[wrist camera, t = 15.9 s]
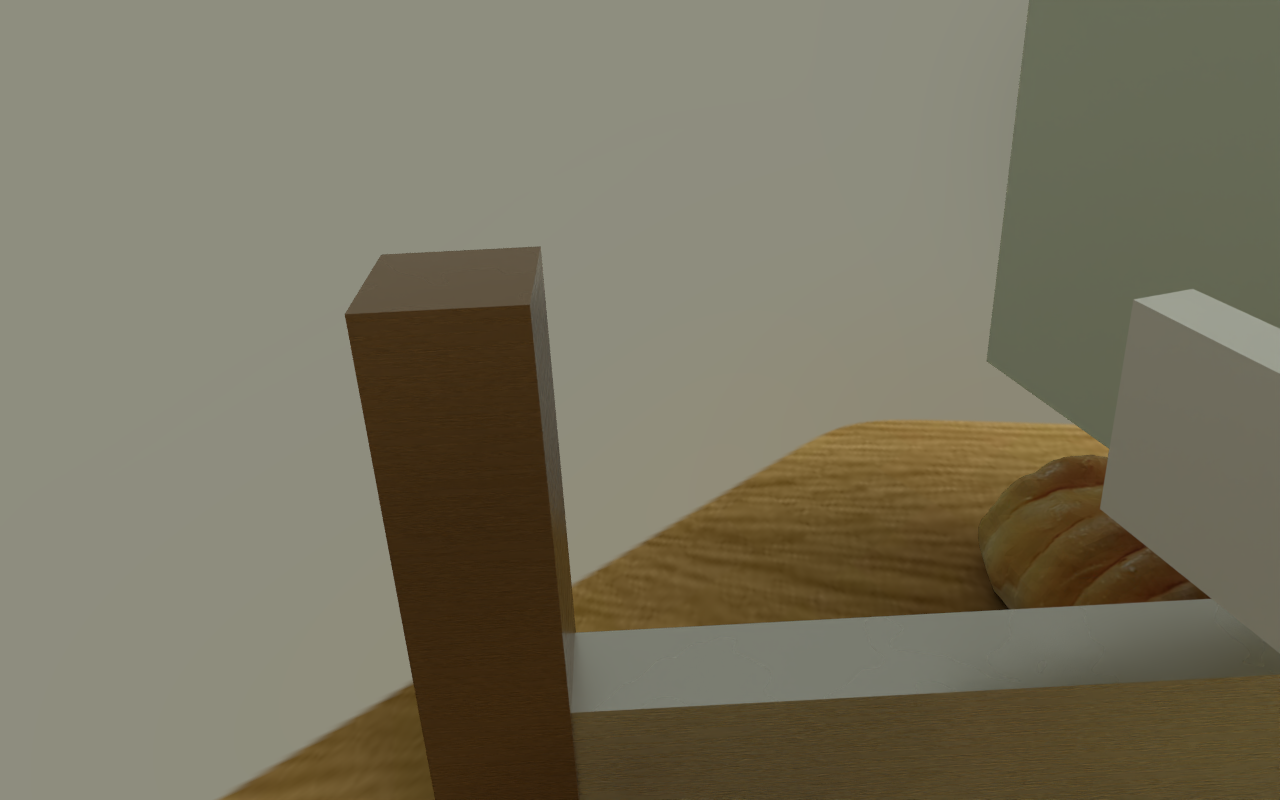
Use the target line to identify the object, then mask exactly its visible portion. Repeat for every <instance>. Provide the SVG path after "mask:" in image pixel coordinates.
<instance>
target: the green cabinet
mask: <svg viewBox="0 0 1280 800" xmlns="http://www.w3.org/2000/svg"><path fill="white" fill-rule="evenodd" d="M1189 289H1194V290H1197V291H1199V292H1201V293H1203V294H1205V295H1207V296H1210V297H1212V298H1214V299H1216V300H1218V301H1221V302H1223V303H1225V304H1227V305H1229V306H1231V307H1234V308H1236V309H1238V310H1240V311H1242V312H1245V313H1247V314H1249V315H1251V316H1253V317H1255V318H1258V319H1260V320H1262V321H1264V322H1266V323H1269V324H1271V325H1273V326H1275V327H1277V328H1279V329H1280V0H1029V7H1028V15H1027V24H1026V33H1025V40H1024V50H1023V58H1022V66H1021V75H1020V83H1019V92H1018V99H1017V109H1016V117H1015V125H1014V134H1013V142H1012V150H1011V159H1010V167H1009V176H1008V184H1007V193H1006V201H1005V209H1004V218H1003V227H1002V235H1001V243H1000V252H999V260H998V269H997V277H996V286H995V294H994V304H993V312H992V319H991V328H990V336H989V345H988V354H987V362H989V363H990V364H991V365H993V366H994V367H996V368H997V369H998V370H1000V371H1001V372H1003V373H1004V374H1006V375H1007V376H1008V377H1010V378H1011V379H1012V380H1014V381H1015V382H1017V383H1018V384H1019V385H1021V386H1022V387H1024V388H1025V389H1026V390H1028V391H1029V392H1031V393H1032V394H1033V395H1035V396H1036V397H1038V398H1039V399H1040V400H1042V401H1043V402H1045V403H1046V404H1047V405H1049V406H1050V407H1052V408H1053V409H1054V410H1056V411H1057V412H1059V413H1060V414H1062V415H1063V416H1064V417H1066V418H1067V419H1068V420H1070V421H1071V422H1073V423H1074V424H1075V425H1077V426H1078V427H1080V428H1081V429H1082V430H1084V431H1085V432H1087V433H1088V434H1089V435H1091V436H1092V437H1094V438H1095V439H1096V440H1098V441H1099V442H1101V443H1102V444H1103V445H1105V446H1106V447H1108V448H1109V449H1110V442H1111V436H1112V430H1113V424H1114V417H1115V411H1116V405H1117V399H1118V392H1119V386H1120V380H1121V374H1122V367H1123V361H1124V355H1125V349H1126V343H1127V336H1128V330H1129V324H1130V318H1131V311H1132V305H1133V300H1134V299H1139V298H1145V297H1150V296H1156V295H1162V294H1167V293H1173V292H1178V291H1184V290H1189Z"/></svg>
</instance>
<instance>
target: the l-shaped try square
mask: <svg viewBox="0 0 1280 800" xmlns="http://www.w3.org/2000/svg"><path fill="white" fill-rule="evenodd" d="M345 318H346V323H347V328H348V334H349V340H350V345H351V350H352V355H353V360H354V366H355V372H356V377H357V382H358V388H359V393H360V398H361V403H362V409H363V414H364V420H365V425H366V431H367V436H368V441H369V447H370V452H371V457H372V463H373V468H374V474H375V479H376V484H377V490H378V494H379V500H380V506H381V511H382V517H383V522H384V527H385V533H386V538H387V543H388V549H389V554H390V560H391V565H392V570H393V576H394V581H395V586H396V592H397V597H398V602H399V607H400V613H401V618H402V624H403V629H404V635H405V640H406V645H407V651H408V656H409V661H410V667H411V672H412V678H413V683H414V688H415V694H416V699H417V704H418V710H419V715H420V720H421V726H422V731H423V737H424V742H425V747H426V753H427V758H428V763H429V769H430V774H431V779H432V785H433V790H434V796H435V800H1280V653H1278V652H1277V651H1276V650H1275V649H1274V648H1272V647H1271V646H1270V645H1269V644H1267V643H1266V642H1265V641H1264V640H1262V639H1261V638H1260V637H1259V636H1257V635H1256V634H1255V633H1254V632H1252V631H1251V630H1250V629H1249V628H1247V627H1246V626H1245V625H1244V624H1242V623H1241V622H1240V621H1239V620H1237V619H1236V618H1235V617H1234V616H1232V615H1231V614H1230V613H1229V612H1227V611H1226V610H1225V609H1224V608H1223V607H1221V606H1220V605H1219V604H1218V603H1216V602H1215V601H1214V600H1213V599H1198V600H1180V601H1161V602H1142V603H1124V604H1105V605H1086V606H1068V607H1049V608H1030V609H1011V610H993V611H974V612H955V613H937V614H918V615H899V616H881V617H862V618H843V619H825V620H806V621H787V622H769V623H750V624H731V625H713V626H694V627H675V628H657V629H638V630H619V631H601V632H582V633H576V630H575V619H574V608H573V597H572V586H571V575H570V565H569V553H568V542H567V533H566V521H565V509H564V498H563V487H562V476H561V466H560V454H559V444H558V432H557V422H556V410H555V400H554V389H553V378H552V367H551V356H550V345H549V334H548V323H547V312H546V301H545V290H544V279H543V268H542V257H541V247H523V248H503V249H483V250H464V251H444V252H425V253H406V254H386V255H381V256H380V258H379V259H378V261H377V263H376V264H375V266H374V267H373V269H372V271H371V272H370V274H369V276H368V277H367V279H366V280H365V282H364V284H363V285H362V287H361V289H360V290H359V292H358V294H357V295H356V297H355V298H354V300H353V302H352V303H351V305H350V307H349V308H348V310H347V312H346V313H345Z"/></svg>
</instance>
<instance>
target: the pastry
mask: <svg viewBox="0 0 1280 800" xmlns="http://www.w3.org/2000/svg"><path fill="white" fill-rule="evenodd" d="M1107 461H1108V458H1107V457H1100V456H1095V455H1084V456H1070V457H1063V458H1061V459H1057V460H1053V461H1051V462H1049V463H1048V464H1046V465H1045V466H1043V467H1042V468H1041V469H1039V470H1038V471H1036V472H1035V473H1033V474H1030V475H1026V476H1023V477H1021V478H1020V479H1018V480H1017V481H1015V482H1014V483H1013V484H1012V485H1010V486H1009V488H1008V489H1007V490H1006V491H1004V492H1003V493H1002V495H1001V496H1000V498H999V499H998V501H997V502H996V503H995V505H994V506H992V507H991V509H990V510H989V512H988V513H987V514H986V516H985V517H984V518H983V519H982V520H981V523H980V526H979V530H978V540H979V546H980V550H981V554H982V557H983V560H984V563H985V567H986V571H987V574H988V577H989V579H990V582H991V584H992V587H993V590H994V593H996V594H997V595H998V596H999V597H1000V598H1001V599H1002V600H1003V602H1004V603H1005V605H1006V606H1007V607H1008V609H1009V610H1011V609H1030V608H1049V607H1068V606H1086V605H1105V604H1124V603H1142V602H1161V601H1180V600H1198V599H1211V598H1210V597H1209V596H1208V595H1206V594H1205V593H1204V592H1203V591H1201V590H1200V589H1199V588H1198V587H1196V586H1195V585H1194V584H1193V583H1191V582H1190V581H1189V580H1188V579H1186V578H1185V577H1184V576H1183V575H1181V574H1180V573H1179V572H1178V571H1176V570H1175V569H1174V568H1173V567H1172V566H1170V565H1169V564H1168V563H1167V562H1165V561H1164V560H1163V559H1162V558H1160V557H1159V556H1158V555H1157V554H1155V553H1154V552H1153V551H1152V550H1150V549H1149V548H1148V547H1147V546H1145V545H1144V544H1143V543H1142V542H1140V541H1139V540H1138V539H1137V538H1135V537H1134V536H1133V535H1132V534H1130V533H1129V532H1128V531H1127V530H1125V529H1124V528H1123V527H1122V526H1121V525H1119V524H1118V523H1117V522H1116V521H1114V520H1113V519H1112V518H1111V517H1109V516H1108V515H1107V514H1106V513H1104V512H1103V511H1102V510H1101V509H1100V505H1101V499H1102V492H1103V486H1104V480H1105V474H1106V467H1107Z"/></svg>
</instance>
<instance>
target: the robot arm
mask: <svg viewBox="0 0 1280 800" xmlns="http://www.w3.org/2000/svg"><path fill="white" fill-rule="evenodd" d="M1100 509H1101V510H1102V511H1103V512H1104V513H1106V514H1107V515H1108V516H1109V517H1111V518H1112V519H1113V520H1114V521H1116V522H1117V523H1118V524H1119V525H1121V526H1122V527H1123V528H1124V529H1125V530H1127V531H1128V532H1129V533H1130V534H1132V535H1133V536H1134V537H1135V538H1137V539H1138V540H1139V541H1140V542H1142V543H1143V544H1144V545H1145V546H1147V547H1148V548H1149V549H1150V550H1152V551H1153V552H1154V553H1155V554H1157V555H1158V556H1159V557H1160V558H1162V559H1163V560H1164V561H1165V562H1167V563H1168V564H1169V565H1170V566H1172V567H1173V568H1174V569H1175V570H1176V571H1178V572H1179V573H1180V574H1181V575H1183V576H1184V577H1185V578H1186V579H1188V580H1189V581H1190V582H1191V583H1193V584H1194V585H1195V586H1196V587H1198V588H1199V589H1200V590H1201V591H1203V592H1204V593H1205V594H1206V595H1208V596H1209V597H1210V598H1211V599H1213V600H1214V601H1215V602H1216V603H1218V604H1219V605H1220V606H1221V607H1223V608H1224V609H1225V610H1226V611H1227V612H1229V613H1230V614H1231V615H1232V616H1234V617H1235V618H1236V619H1237V620H1239V621H1240V622H1241V623H1242V624H1244V625H1245V626H1246V627H1247V628H1249V629H1250V630H1251V631H1252V632H1254V633H1255V634H1256V635H1257V636H1259V637H1260V638H1261V639H1262V640H1264V641H1265V642H1266V643H1267V644H1269V645H1270V646H1271V647H1272V648H1274V649H1275V650H1276V651H1277V652H1278V653H1280V329H1279V328H1277V327H1275V326H1273V325H1271V324H1269V323H1266V322H1264V321H1262V320H1260V319H1258V318H1255V317H1253V316H1251V315H1249V314H1247V313H1245V312H1242V311H1240V310H1238V309H1236V308H1234V307H1231V306H1229V305H1227V304H1225V303H1223V302H1221V301H1218V300H1216V299H1214V298H1212V297H1210V296H1207V295H1205V294H1203V293H1201V292H1199V291H1197V290H1194V289H1189V290H1184V291H1178V292H1173V293H1167V294H1162V295H1156V296H1150V297H1145V298H1139V299H1134V300H1133V305H1132V311H1131V318H1130V324H1129V330H1128V336H1127V343H1126V349H1125V355H1124V361H1123V367H1122V374H1121V380H1120V386H1119V392H1118V399H1117V405H1116V411H1115V417H1114V424H1113V430H1112V436H1111V442H1110V449H1109V455H1108V461H1107V467H1106V474H1105V480H1104V486H1103V492H1102V499H1101V505H1100Z"/></svg>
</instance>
